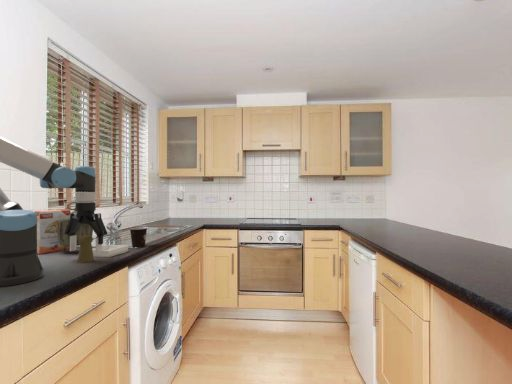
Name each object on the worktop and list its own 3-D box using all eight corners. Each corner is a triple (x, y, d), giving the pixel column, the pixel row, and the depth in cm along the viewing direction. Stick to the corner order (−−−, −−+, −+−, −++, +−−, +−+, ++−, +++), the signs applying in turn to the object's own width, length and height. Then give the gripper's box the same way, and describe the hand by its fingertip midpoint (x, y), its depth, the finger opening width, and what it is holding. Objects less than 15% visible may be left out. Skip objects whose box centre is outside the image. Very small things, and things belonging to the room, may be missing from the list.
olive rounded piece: (86, 263, 117) (86, 236, 117) (74, 262, 118) (74, 236, 118) (97, 259, 123) (97, 234, 123) (85, 258, 124) (85, 234, 124)
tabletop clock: (93, 248, 146) (92, 201, 146) (92, 252, 138) (91, 202, 138) (59, 251, 139) (59, 202, 139) (56, 255, 131) (56, 202, 131)
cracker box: (39, 254, 133) (39, 211, 133) (33, 253, 136) (33, 210, 136) (71, 249, 145) (71, 209, 145) (65, 248, 148) (64, 209, 148)
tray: (108, 257, 127) (108, 250, 127) (86, 256, 129) (86, 249, 129) (128, 251, 139) (128, 245, 139) (107, 250, 142) (107, 244, 142)
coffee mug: (139, 244, 157) (139, 227, 157) (150, 246, 153) (150, 227, 153) (121, 248, 147) (121, 229, 147) (133, 249, 143) (132, 230, 143)
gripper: (116, 201, 121) (116, 250, 121) (69, 201, 127) (70, 248, 127) (103, 202, 114) (103, 254, 114) (54, 202, 120) (54, 251, 120)
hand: (85, 251), depth 120 cm, fingers open, 13 cm apart
